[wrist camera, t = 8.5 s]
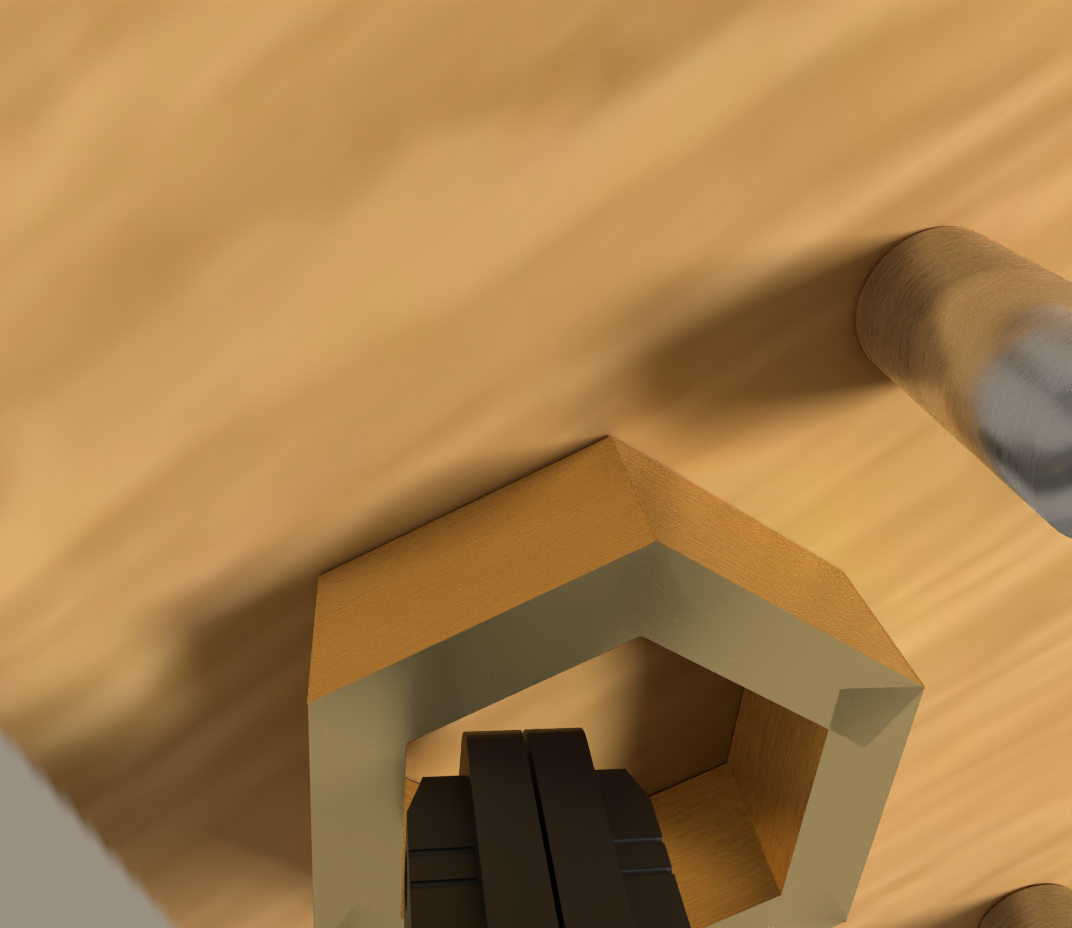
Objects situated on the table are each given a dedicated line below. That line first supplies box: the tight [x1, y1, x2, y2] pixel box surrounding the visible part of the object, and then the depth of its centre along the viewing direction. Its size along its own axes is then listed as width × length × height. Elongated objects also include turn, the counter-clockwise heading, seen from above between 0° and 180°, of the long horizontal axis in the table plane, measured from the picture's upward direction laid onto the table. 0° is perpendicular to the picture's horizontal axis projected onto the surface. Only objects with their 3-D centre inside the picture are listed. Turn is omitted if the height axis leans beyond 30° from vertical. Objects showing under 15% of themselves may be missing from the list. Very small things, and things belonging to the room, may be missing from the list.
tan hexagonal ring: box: [307, 436, 925, 928], centre depth 14 cm, size 7×9×2 cm
